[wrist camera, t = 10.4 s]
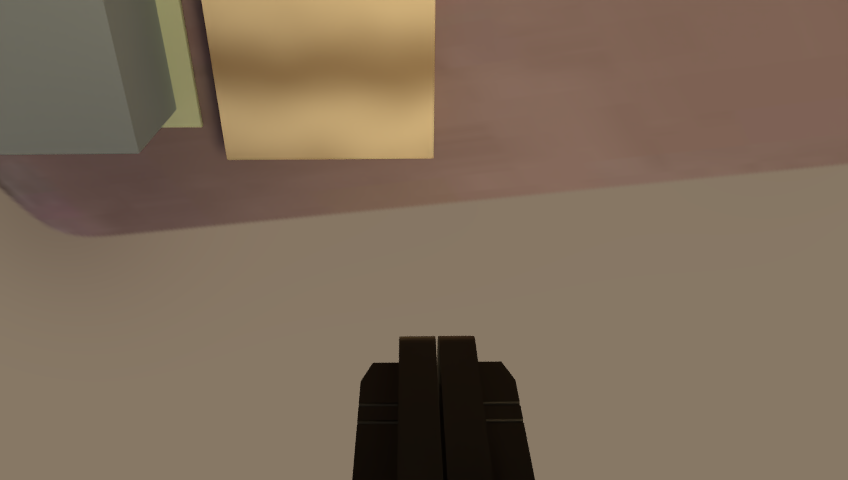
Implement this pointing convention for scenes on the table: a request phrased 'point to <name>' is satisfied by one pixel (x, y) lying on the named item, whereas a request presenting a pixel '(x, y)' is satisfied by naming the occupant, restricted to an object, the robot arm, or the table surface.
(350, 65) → the block
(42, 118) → the box
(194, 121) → the mat
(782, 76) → the table surface
